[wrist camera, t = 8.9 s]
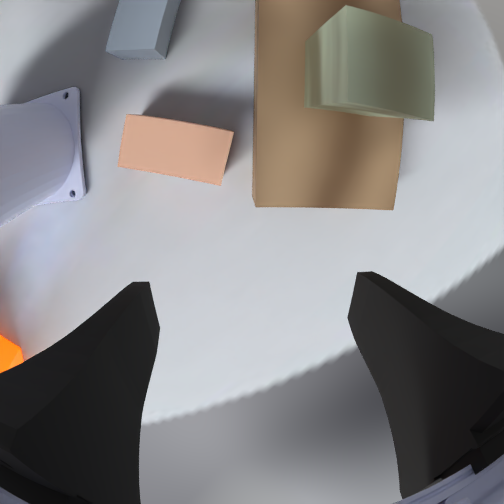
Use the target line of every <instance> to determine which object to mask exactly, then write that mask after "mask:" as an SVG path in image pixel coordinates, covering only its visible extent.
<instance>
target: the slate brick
mask: <svg viewBox="0 0 504 504" xmlns="http://www.w3.org/2000/svg"><path fill="white" fill-rule="evenodd" d="M180 1H181V0H120V1H119V4H118V7H117V10H116V13H115V16H114V20H113V23H112V27H111V30H110V34H109V38H108V42H107V46H106V50H105V51H106V52H108V53H110V54H112V55H114V56H116V57H118V58H120V59H122V60H123V59H166V55H167V50H168V46H169V42H170V38H171V34H172V30H173V26H174V22H175V18H176V15H177V11H178V8H179V4H180Z"/></svg>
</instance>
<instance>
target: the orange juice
mask: <svg viewBox="0 0 504 504" xmlns="http://www.w3.org/2000/svg"><path fill="white" fill-rule="evenodd" d="M23 362H24V361H23V356H22V352H21V348H20V347H19V346H17V345H15V344H14V343H12V342H10V341H9V340H7V339H6V338H4V337H2V336H1V335H0V373H1V372H3V371H6V370H8V369H10V368H12V367H14V366H16V365H19V364H21V363H23Z"/></svg>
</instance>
